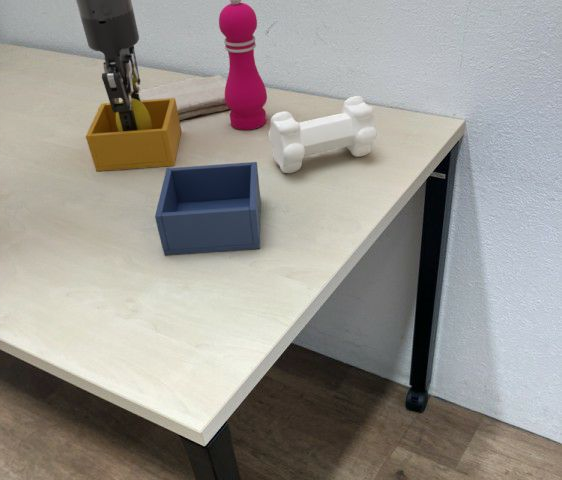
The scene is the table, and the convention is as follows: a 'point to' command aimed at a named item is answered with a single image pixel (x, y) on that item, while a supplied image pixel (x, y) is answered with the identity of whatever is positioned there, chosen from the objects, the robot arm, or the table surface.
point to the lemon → (137, 116)
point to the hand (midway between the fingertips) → (134, 125)
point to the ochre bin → (135, 138)
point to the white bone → (322, 134)
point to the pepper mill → (242, 67)
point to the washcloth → (192, 95)
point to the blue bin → (209, 209)
